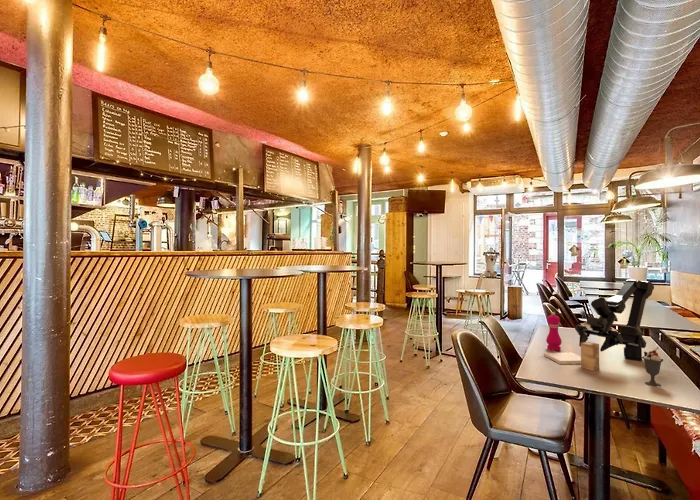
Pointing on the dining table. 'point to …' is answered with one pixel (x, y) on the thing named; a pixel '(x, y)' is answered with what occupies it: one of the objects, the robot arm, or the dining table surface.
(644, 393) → the dining table surface
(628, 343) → the robot arm
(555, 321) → the pepper mill
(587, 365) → the oak block
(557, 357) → the plate
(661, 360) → the sundae
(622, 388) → the dining table surface
